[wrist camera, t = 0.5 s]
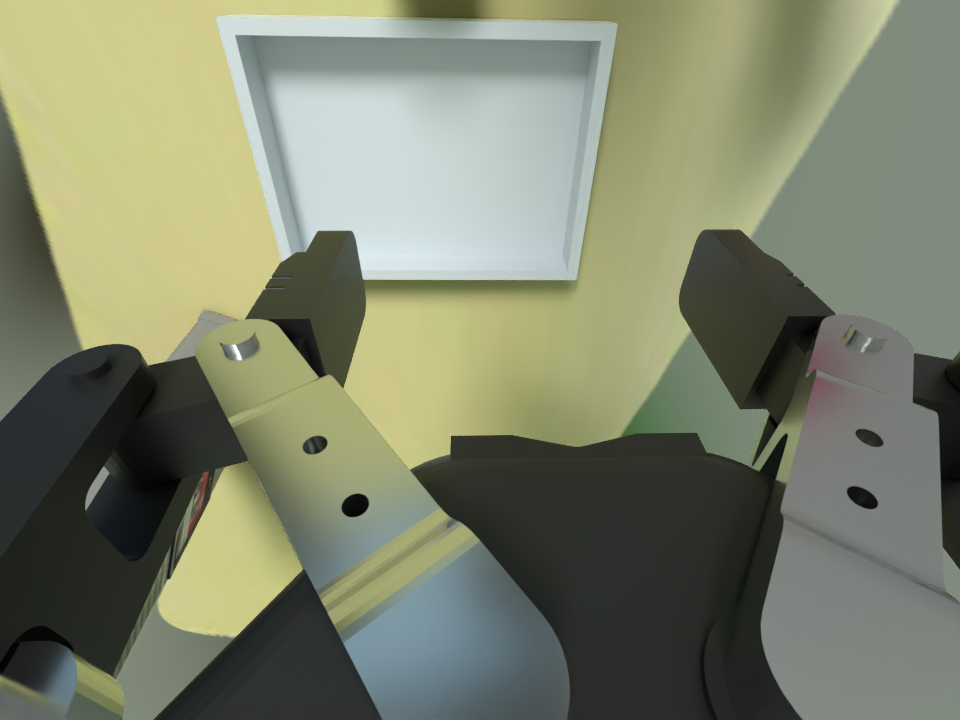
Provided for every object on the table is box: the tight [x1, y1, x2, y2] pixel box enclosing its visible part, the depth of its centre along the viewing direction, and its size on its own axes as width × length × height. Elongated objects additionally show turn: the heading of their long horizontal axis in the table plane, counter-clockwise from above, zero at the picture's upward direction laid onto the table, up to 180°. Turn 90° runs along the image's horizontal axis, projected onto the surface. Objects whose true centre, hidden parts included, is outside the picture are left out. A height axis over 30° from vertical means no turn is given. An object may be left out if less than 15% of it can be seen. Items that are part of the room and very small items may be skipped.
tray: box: [215, 14, 618, 280], centre depth 32 cm, size 16×22×3 cm
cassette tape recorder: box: [85, 310, 237, 681], centre depth 35 cm, size 14×6×25 cm, turn 154°
